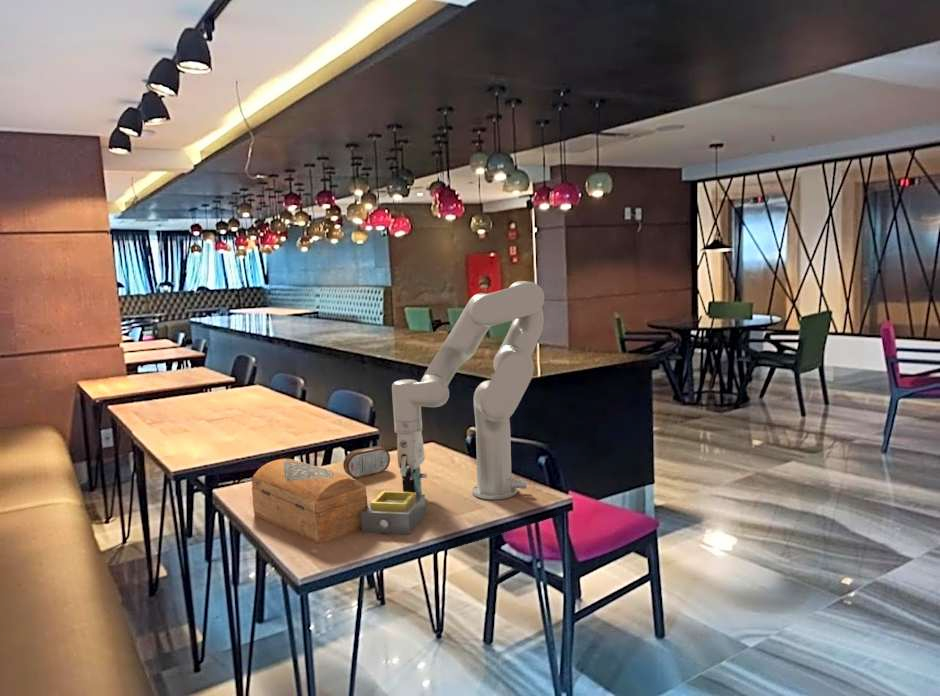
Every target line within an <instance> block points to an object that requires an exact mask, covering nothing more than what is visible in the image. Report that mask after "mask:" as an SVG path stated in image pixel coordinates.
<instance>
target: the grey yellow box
mask: <svg viewBox="0 0 940 696" xmlns="http://www.w3.org/2000/svg"><path fill="white" fill-rule="evenodd" d="M425 496H426V495H425V494H422V495H417V494H416V492H403V491H396V490H395V491H394V490H382V491H381V492H380V493H379V494H377V496H376V497H374V498H373V499H372V500H371V502H370V503H369V504H368V506H367V507H366V508H365V509H364V510H363V511H362V512H361V521H362V528H361V532H362V533H374V534H389V535H390V534H393V535H411V533H412V532H413V530H414V529H415V528H416V527H417V525H418V524H419V523H420V521H421V520H422V519H423V518H424V517H425V515H426V497H425Z"/></svg>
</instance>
